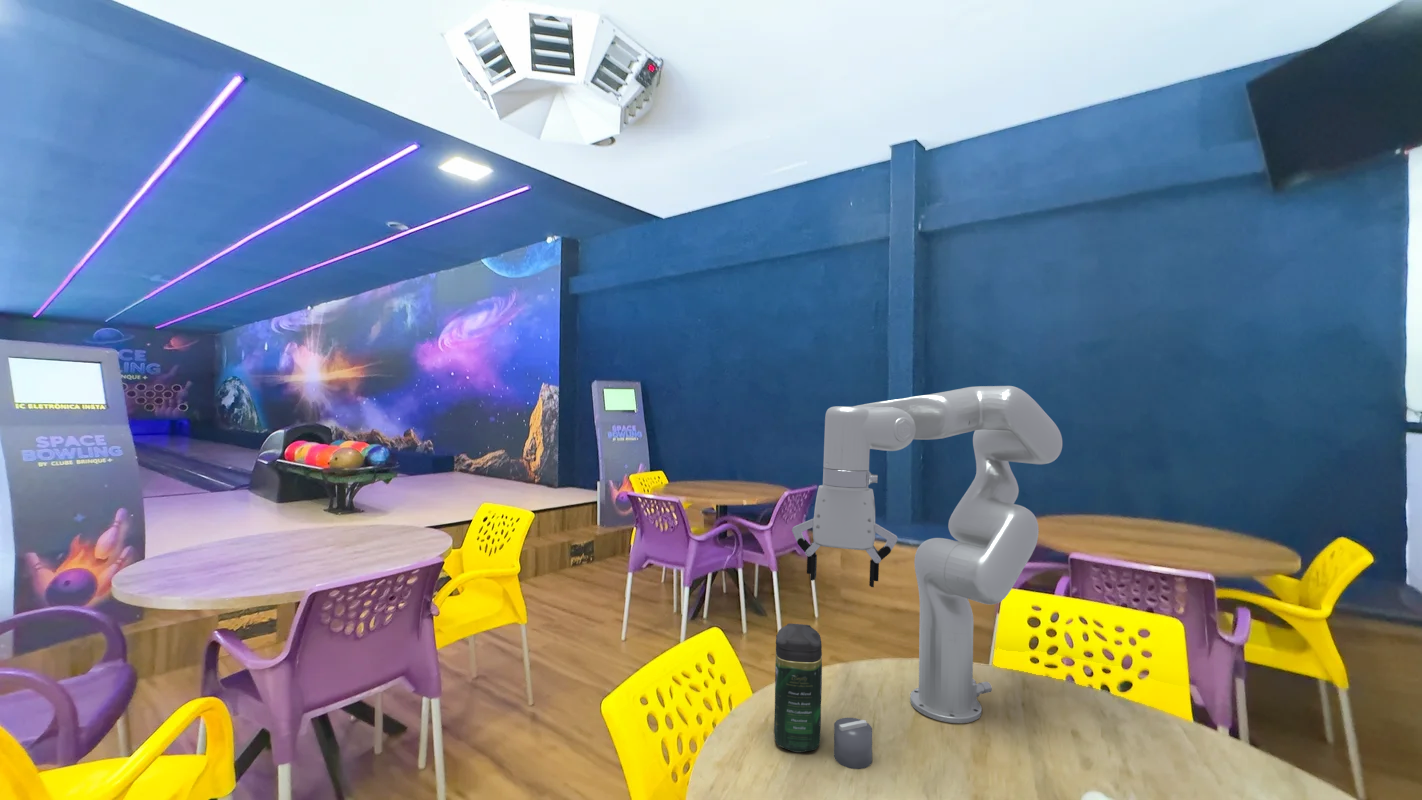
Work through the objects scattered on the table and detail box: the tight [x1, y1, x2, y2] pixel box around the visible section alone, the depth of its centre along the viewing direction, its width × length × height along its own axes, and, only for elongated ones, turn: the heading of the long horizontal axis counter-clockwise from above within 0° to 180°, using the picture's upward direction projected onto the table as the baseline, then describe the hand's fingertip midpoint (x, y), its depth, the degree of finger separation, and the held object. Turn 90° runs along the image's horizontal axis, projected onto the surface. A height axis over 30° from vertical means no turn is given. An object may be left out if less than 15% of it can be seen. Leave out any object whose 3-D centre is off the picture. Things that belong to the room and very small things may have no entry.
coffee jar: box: [773, 623, 823, 753], centre depth 104 cm, size 10×8×19 cm
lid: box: [833, 717, 873, 770], centre depth 98 cm, size 6×6×6 cm
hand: (842, 581), depth 102 cm, fingers open, 9 cm apart
